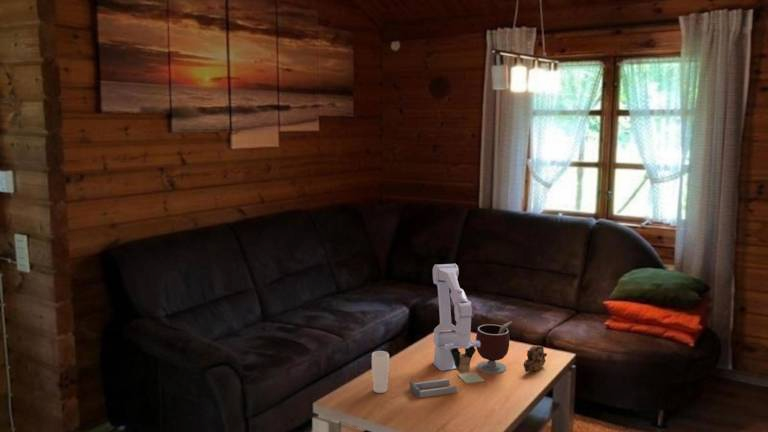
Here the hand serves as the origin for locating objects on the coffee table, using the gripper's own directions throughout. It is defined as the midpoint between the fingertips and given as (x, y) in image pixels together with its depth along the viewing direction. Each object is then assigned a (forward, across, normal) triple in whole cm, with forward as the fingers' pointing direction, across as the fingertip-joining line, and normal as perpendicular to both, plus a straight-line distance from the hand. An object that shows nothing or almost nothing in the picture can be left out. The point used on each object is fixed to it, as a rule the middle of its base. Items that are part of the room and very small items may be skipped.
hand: (461, 365), depth 248 cm
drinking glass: (+9, -32, +6) cm, 34 cm away
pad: (+9, +7, +6) cm, 12 cm away
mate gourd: (+9, +21, +12) cm, 26 cm away
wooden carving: (+9, +37, +6) cm, 39 cm away
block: (+2, 0, -1) cm, 2 cm away
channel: (+9, -12, 0) cm, 15 cm away
